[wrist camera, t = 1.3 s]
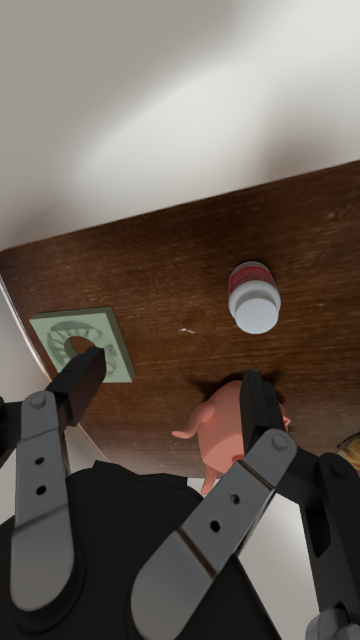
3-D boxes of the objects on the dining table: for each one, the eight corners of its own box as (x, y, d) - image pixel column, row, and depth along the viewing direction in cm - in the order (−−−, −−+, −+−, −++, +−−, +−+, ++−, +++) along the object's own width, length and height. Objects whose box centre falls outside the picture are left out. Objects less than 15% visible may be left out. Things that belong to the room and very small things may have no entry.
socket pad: (37, 313, 48) (28, 319, 45) (111, 306, 44) (105, 312, 41) (70, 374, 55) (64, 382, 53) (135, 373, 51) (131, 382, 49)
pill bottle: (221, 273, 37) (218, 307, 28) (260, 252, 34) (271, 281, 25) (240, 305, 39) (243, 346, 30) (278, 287, 37) (294, 327, 27)
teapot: (207, 433, 57) (201, 500, 46) (184, 375, 49) (169, 438, 37) (290, 430, 52) (307, 505, 40) (279, 364, 44) (297, 434, 32)
